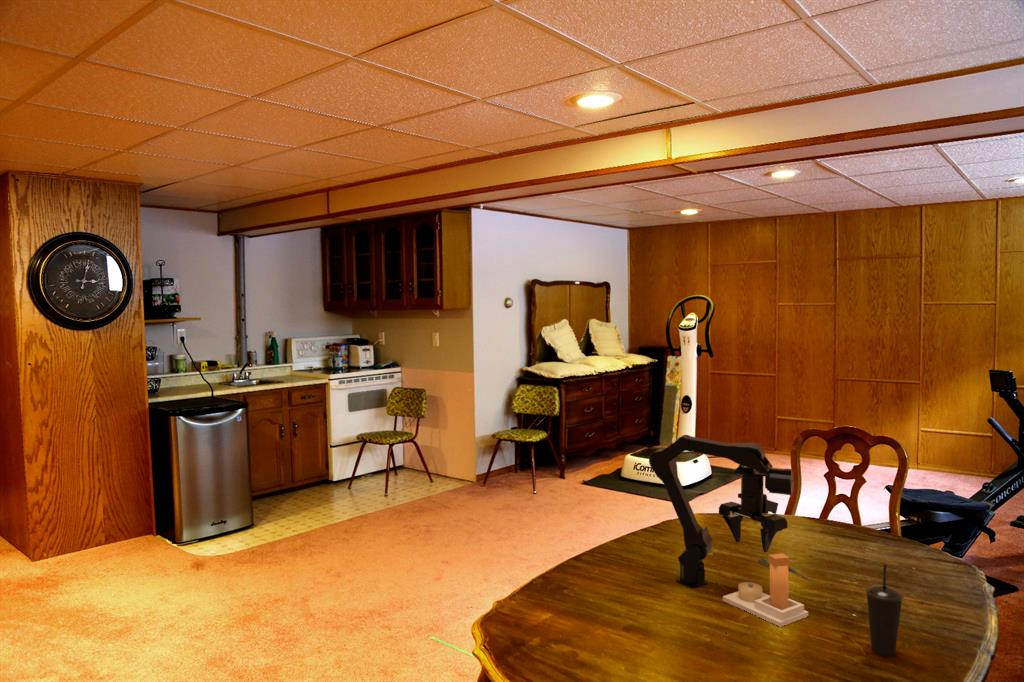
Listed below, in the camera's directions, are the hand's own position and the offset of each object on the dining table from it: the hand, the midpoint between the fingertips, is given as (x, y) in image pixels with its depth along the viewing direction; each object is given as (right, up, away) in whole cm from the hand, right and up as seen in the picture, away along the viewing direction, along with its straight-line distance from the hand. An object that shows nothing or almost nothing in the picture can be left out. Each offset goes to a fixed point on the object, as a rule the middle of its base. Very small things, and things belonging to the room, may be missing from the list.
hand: (751, 547), depth 190 cm
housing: (0, -14, -8) cm, 16 cm away
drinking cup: (+19, -15, -31) cm, 39 cm away
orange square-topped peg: (+3, -13, -12) cm, 18 cm away
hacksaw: (+18, -13, +14) cm, 26 cm away
